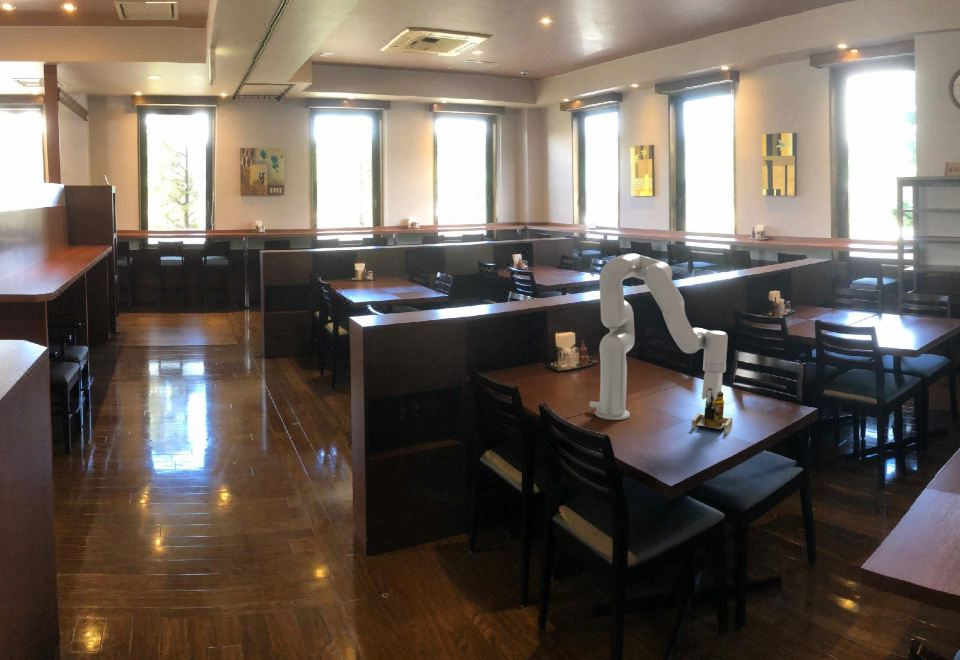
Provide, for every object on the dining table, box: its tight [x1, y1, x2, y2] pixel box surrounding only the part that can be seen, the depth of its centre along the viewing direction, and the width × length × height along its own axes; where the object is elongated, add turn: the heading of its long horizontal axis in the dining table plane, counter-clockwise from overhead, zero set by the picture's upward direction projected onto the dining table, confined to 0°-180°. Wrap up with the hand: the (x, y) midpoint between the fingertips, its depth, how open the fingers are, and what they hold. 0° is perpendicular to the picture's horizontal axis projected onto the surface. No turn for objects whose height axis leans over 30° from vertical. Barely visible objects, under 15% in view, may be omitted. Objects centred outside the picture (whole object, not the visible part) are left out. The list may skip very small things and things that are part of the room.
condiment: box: [697, 390, 725, 430], centre depth 266 cm, size 7×8×12 cm
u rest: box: [691, 412, 733, 436], centre depth 268 cm, size 12×9×4 cm
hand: (711, 415), depth 267 cm, fingers closed on condiment, 6 cm apart
